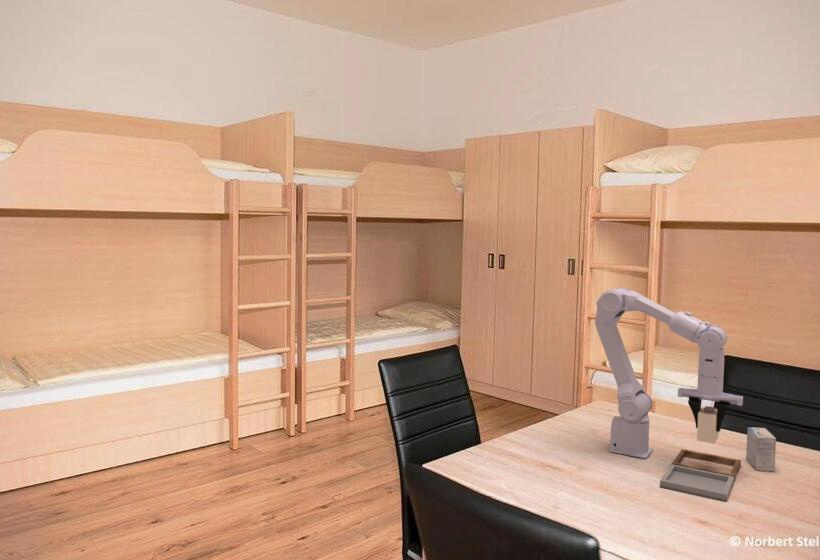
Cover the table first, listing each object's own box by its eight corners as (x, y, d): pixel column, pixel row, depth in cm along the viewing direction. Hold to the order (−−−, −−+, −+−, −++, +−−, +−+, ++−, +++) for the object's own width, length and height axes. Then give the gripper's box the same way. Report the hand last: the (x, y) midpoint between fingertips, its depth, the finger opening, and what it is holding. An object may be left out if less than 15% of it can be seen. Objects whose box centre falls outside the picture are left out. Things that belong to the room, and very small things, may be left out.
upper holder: (671, 469, 159) (672, 463, 159) (681, 454, 169) (681, 448, 169) (734, 481, 151) (734, 475, 151) (740, 465, 161) (741, 459, 161)
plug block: (696, 440, 158) (698, 409, 157) (701, 433, 163) (702, 404, 162) (714, 443, 156) (716, 412, 155) (718, 436, 161) (719, 406, 160)
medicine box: (775, 472, 157) (777, 438, 156) (755, 470, 158) (757, 436, 157) (764, 460, 165) (765, 427, 164) (745, 459, 166) (747, 426, 165)
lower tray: (659, 487, 148) (660, 480, 148) (670, 470, 158) (671, 464, 158) (726, 501, 140) (726, 494, 140) (733, 483, 150) (734, 476, 150)
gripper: (676, 374, 158) (673, 427, 160) (741, 382, 150) (738, 438, 152) (681, 369, 164) (679, 420, 166) (745, 376, 156) (742, 430, 157)
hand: (708, 428), depth 159 cm, fingers closed on plug block, 4 cm apart
